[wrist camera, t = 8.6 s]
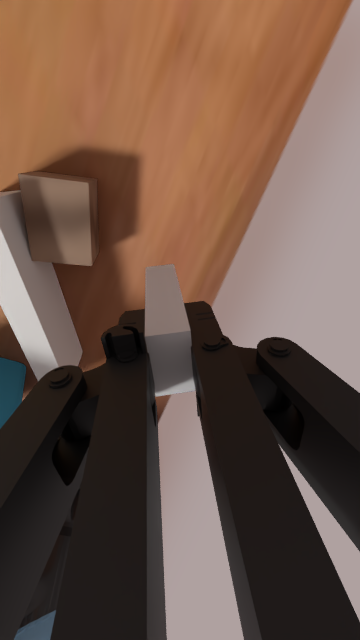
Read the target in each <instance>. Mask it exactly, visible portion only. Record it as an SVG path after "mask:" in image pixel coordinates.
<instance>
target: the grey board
mask: <svg viewBox="0 0 360 640" xmlns="http://www.w3.org/2000/svg"><path fill="white" fill-rule="evenodd" d="M0 305H1V307H2V309H3V311H4V313H5V315H6V317H7V319H8V321H9V323H10V325H11V327H12V329H13V331H14V333H15V336H16V338H17V340H18V342H19V344H20V346H21V348H22V350H23V352H24V354H25V356H26V358H27V360H28V362H29V364H30V366H31V368H32V370H33V372H34V374H35V376H36V378H37V380H38V381H39V380H40V379H41V378H42V377H43V376H44V375H45V374H46V373H48V372H49V371H51V370H53V369H55V368H58V367H61V366H65V365H74V366H78V365H79V362H80V359H81V356H82V353H83V351H82V348H81V345H80V342H79V339H78V336H77V333H76V331H75V328H74V325H73V322H72V319H71V316H70V313H69V310H68V307H67V305H66V302H65V299H64V296H63V293H62V290H61V287H60V284H59V281H58V279H57V276H56V273H55V270H54V267H53V264H52V263H50V262H38V261H32V258H31V252H30V246H29V240H28V233H27V227H26V221H25V214H24V208H23V202H22V195H21V190H17V191H7V192H0Z"/></svg>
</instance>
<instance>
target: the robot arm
mask: <svg viewBox="0 0 360 640" xmlns="http://www.w3.org/2000/svg"><path fill="white" fill-rule="evenodd" d="M101 341H102V344H103V348H104V351H105V355H106V358H107V359H106V363H105V364H103V365H102V366H100V367H97V368H95V369H92V370H90V371H87V372H84V373H83V372H82V369H80V368H79V367H78V366H74V365H65V366H61V367H58V368H55V369H53V370H51V371H49V372H48V373H46V374H45V375H44V376H43V377H42V378H41V379H40V380H39V381H38V383H37V384H36V385H35V386H34V388H33V389H32V390H31V391H30V393H29V394H28V395H27V396H26V398H25V399H24V400H23V401H22V403H21V404H20V405H19V406H18V408H17V409H16V410H15V411H14V413H13V414H12V415H11V416H10V418H9V419H8V420H7V421H6V423H5V424H4V425H3V426H2V427H1V429H0V640H167V637H166V613H165V589H164V567H163V543H162V518H161V495H160V470H159V446H158V422H157V406H156V400H155V395H156V396H163V395H170V394H177V393H184V392H192V391H195V389H196V398H197V412H198V416H200V421H201V426H202V430H203V436H204V441H205V446H206V450H207V456H208V461H209V466H210V471H211V476H212V481H213V485H214V491H215V496H216V501H217V506H218V511H219V516H220V521H221V526H222V530H223V536H224V541H225V546H226V551H227V556H228V561H229V566H230V571H231V576H232V581H233V586H234V591H235V596H236V601H237V606H238V611H239V616H240V621H241V626H242V631H243V636H244V640H360V622H359V619H358V617H357V615H356V613H355V611H354V608H353V606H352V604H351V602H350V600H349V598H348V595H347V593H346V591H345V589H344V587H343V585H342V582H341V580H340V578H339V576H338V573H337V571H336V569H335V567H334V565H333V563H332V560H331V558H330V556H329V554H328V552H327V549H326V547H325V545H324V543H323V541H322V538H321V536H320V534H319V532H318V530H317V528H316V525H315V523H314V521H313V519H312V517H311V515H310V512H309V510H308V508H307V506H306V504H305V501H304V499H303V497H302V495H301V493H300V491H299V488H298V486H297V484H296V482H295V480H294V477H293V475H292V473H291V471H290V469H289V466H288V464H287V462H286V460H285V457H284V456H283V453H282V451H281V449H280V447H279V445H280V446H281V447H282V449H283V450H284V451H285V453H286V454H287V455H288V457H289V458H290V459H291V461H292V462H293V463H294V465H295V466H296V467H297V468H298V470H299V471H300V473H301V474H302V475H303V477H304V478H305V479H306V481H307V482H308V483H309V484H310V486H311V487H312V488H313V490H314V491H315V493H316V494H317V495H318V497H319V498H320V499H321V501H322V502H323V503H324V505H325V506H326V507H327V508H328V510H329V511H330V513H331V514H332V515H333V516H334V518H335V519H336V520H337V522H338V523H339V524H340V526H341V527H342V528H343V530H344V531H345V532H346V534H347V535H348V536H349V538H350V539H351V540H352V542H353V543H354V544H355V546H356V547H357V548H358V550H359V551H360V393H358V392H357V391H356V390H355V389H354V388H352V387H351V386H350V385H348V384H347V383H346V382H344V381H343V380H342V379H341V378H339V377H338V376H337V375H336V374H334V373H333V372H332V371H331V370H329V369H328V368H327V367H325V366H324V365H323V364H321V363H320V362H319V361H318V360H316V359H315V358H314V357H312V356H311V355H310V354H309V353H307V352H306V351H305V350H304V349H302V348H301V347H300V346H298V345H297V344H296V343H294V342H292V341H291V340H288V339H285V338H279V337H271V338H266V339H264V340H261V341H260V342H259V344H258V345H257V349H254V348H243V347H238V346H235V345H233V344H232V342H231V340H230V339H229V338H228V337H226V336H224V335H223V334H222V332H221V329H220V327H219V324H218V322H217V320H216V318H215V315H214V313H213V311H212V308H211V306H210V305H209V304H207V303H206V302H204V301H199V302H191V303H184V302H183V298H182V294H181V290H180V286H179V282H178V278H177V275H176V271H175V267H174V264H169V265H161V266H152V267H146V285H145V309H141V310H133V311H125V313H124V314H123V315H122V316H121V317H120V319H119V325H118V326H114V327H112V328H110V329H108V330H107V331H106V332H104V333H103V335H102V337H101Z"/></svg>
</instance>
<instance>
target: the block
mask: <svg viewBox="0 0 360 640" xmlns="http://www.w3.org/2000/svg"><path fill="white" fill-rule="evenodd" d="M25 375H26V366H25V365H24V364H22V363H19V362H16V361H12V360H9V359H5V358H1V357H0V429H1V427H2V426H3V425H4V424H5V423H6V421H7V420H8V419H9V418H10V416H11V415H12V414H13V413H14V411H15V410H16V409H17V408H18V406H19V405H20V404H21V403H22V396H23V389H24V382H25Z"/></svg>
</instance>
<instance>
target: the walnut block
mask: <svg viewBox="0 0 360 640" xmlns="http://www.w3.org/2000/svg"><path fill="white" fill-rule="evenodd" d="M18 176H19V183H20V189H21V195H22V202H23V208H24V214H25V221H26V227H27V233H28V240H29V246H30V252H31V258H32V261H38V262H50V263H62V264H73V265H85V266H92V265H93V263H94V261H95V259H96V257H97V255H98V253H99V227H98V189H97V179H95V178H87V177H79V176H72V175H64V174H56V173H49V172H41V171H34V172H27V173H21V174H18Z"/></svg>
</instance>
